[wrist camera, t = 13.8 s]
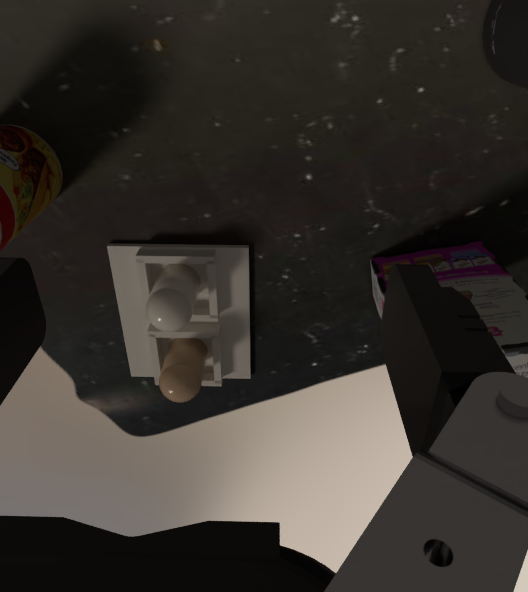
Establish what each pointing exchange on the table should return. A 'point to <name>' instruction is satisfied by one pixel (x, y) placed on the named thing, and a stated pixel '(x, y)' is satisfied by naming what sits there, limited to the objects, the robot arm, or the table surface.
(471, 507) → the robot arm
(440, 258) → the candy bar box
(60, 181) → the canned food
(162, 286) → the white capsule
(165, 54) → the table surface
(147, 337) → the white holder tray
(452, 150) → the table surface
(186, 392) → the tan capsule
